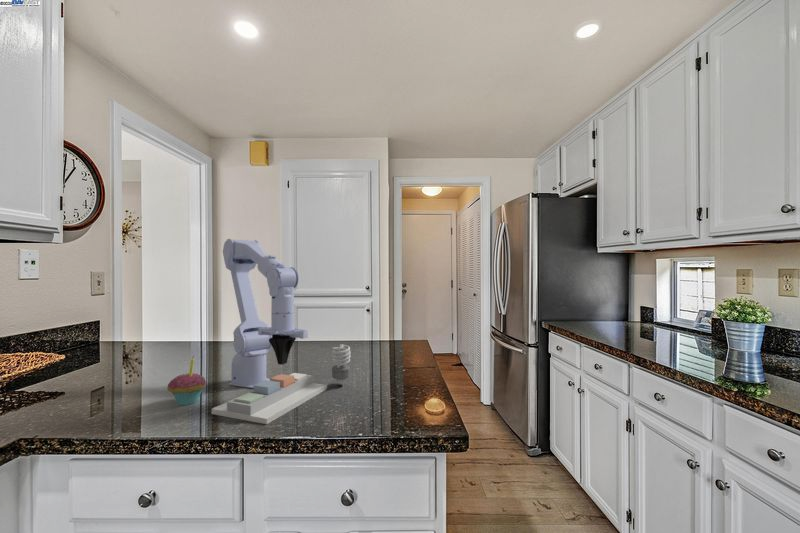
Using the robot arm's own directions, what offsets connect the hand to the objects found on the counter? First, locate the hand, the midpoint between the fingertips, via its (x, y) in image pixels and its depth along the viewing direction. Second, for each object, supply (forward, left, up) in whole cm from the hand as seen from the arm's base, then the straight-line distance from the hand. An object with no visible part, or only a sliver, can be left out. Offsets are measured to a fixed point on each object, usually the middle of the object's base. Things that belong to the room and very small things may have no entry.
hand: (282, 363), depth 98 cm
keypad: (0, -3, -9) cm, 9 cm away
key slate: (0, -6, -6) cm, 8 cm away
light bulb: (+10, +14, -9) cm, 19 cm away
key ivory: (0, +6, -7) cm, 9 cm away
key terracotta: (0, 0, -6) cm, 6 cm away
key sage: (0, -12, -7) cm, 14 cm away
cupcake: (-20, -12, -9) cm, 25 cm away
